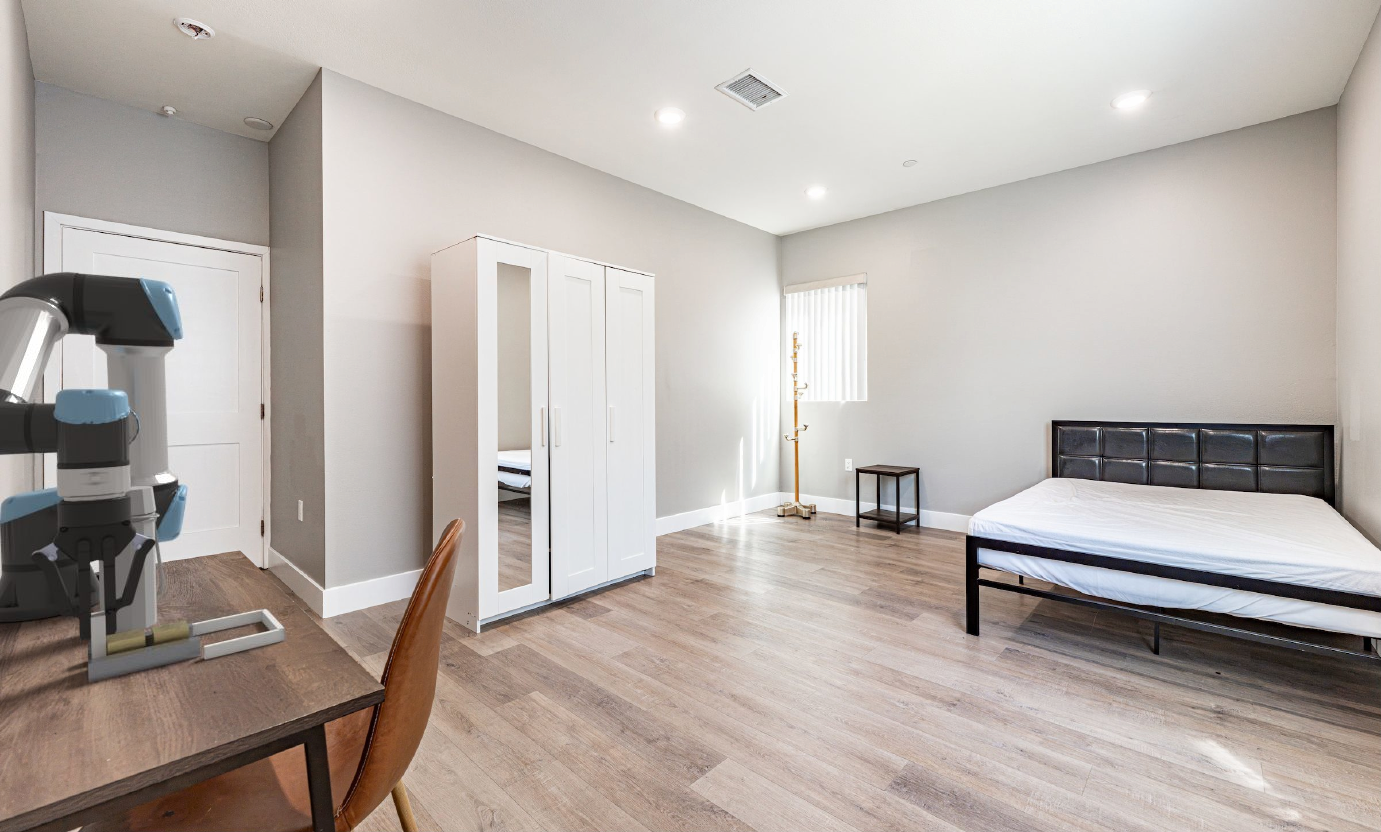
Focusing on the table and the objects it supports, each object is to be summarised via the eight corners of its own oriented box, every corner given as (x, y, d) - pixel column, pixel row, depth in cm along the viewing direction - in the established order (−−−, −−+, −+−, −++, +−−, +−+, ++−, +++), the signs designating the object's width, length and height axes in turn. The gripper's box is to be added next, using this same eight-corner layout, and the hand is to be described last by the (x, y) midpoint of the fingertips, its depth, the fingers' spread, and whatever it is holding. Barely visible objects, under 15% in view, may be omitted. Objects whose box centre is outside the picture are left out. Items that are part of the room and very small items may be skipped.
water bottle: (123, 643, 99) (120, 492, 99) (86, 639, 101) (83, 491, 100) (181, 623, 108) (178, 484, 108) (146, 620, 110) (143, 483, 109)
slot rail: (87, 668, 90) (87, 644, 90) (191, 645, 98) (191, 622, 98) (89, 690, 83) (88, 664, 83) (200, 663, 91) (200, 639, 91)
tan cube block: (107, 662, 89) (106, 635, 89) (143, 654, 92) (142, 628, 92) (108, 670, 86) (107, 643, 86) (145, 662, 89) (145, 635, 89)
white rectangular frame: (192, 641, 100) (192, 623, 100) (266, 625, 107) (266, 608, 107) (205, 667, 90) (204, 647, 90) (285, 647, 97) (285, 628, 97)
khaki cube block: (152, 652, 93) (151, 626, 93) (186, 644, 96) (185, 619, 95) (154, 660, 90) (154, 633, 90) (189, 652, 93) (188, 626, 93)
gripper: (25, 504, 79) (30, 682, 80) (157, 494, 88) (161, 653, 89) (29, 498, 85) (34, 665, 85) (153, 489, 94) (157, 639, 94)
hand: (99, 658), depth 87 cm, fingers closed
